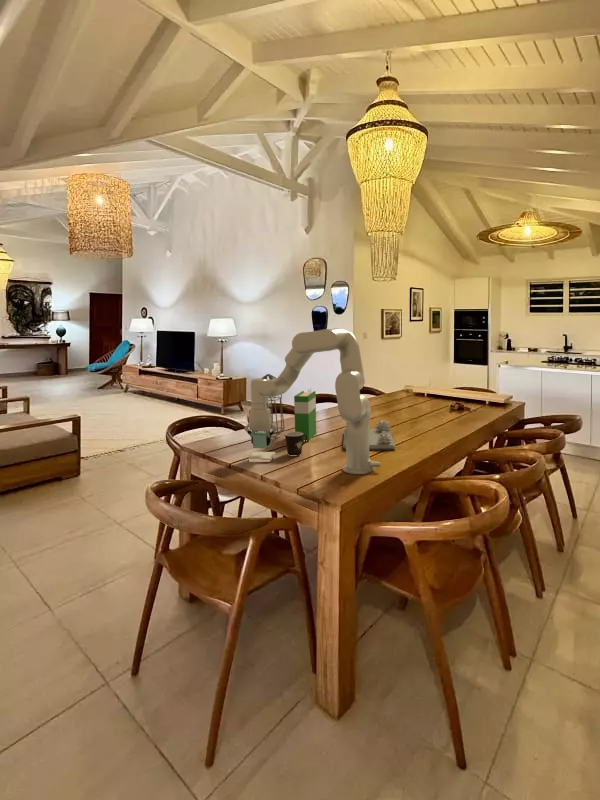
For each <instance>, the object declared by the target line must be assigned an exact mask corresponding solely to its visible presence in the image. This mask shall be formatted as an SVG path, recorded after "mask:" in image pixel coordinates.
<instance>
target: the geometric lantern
mask: <svg viewBox="0 0 600 800" xmlns="http://www.w3.org/2000/svg"><path fill="white" fill-rule="evenodd" d="M261 378H262V379H266V380H271V379H275V378H277V377H276V376H273V375H272V374H270V373H267V374H265V375H264V376H262V377H261ZM282 398H283V394H280V395H278V396H275V397H268V402H270V404H271V408H270V410H271V415H272V423H273V424H274V416H273V415H274V413H273V403H274V412H275V423H276V425H275V426H276V427H277V431H276V432H274V433H273V434H272V435H271V438H274V439H277V437H276V436H278V435H280V434H281V433H283V432H284V431H285V421H284V412H283V403H282ZM276 401H279V406H280V407H279V410H280V426H281V427H279V426H278V416H277V415H278V414H277V405H276ZM279 429H280V430H279ZM271 430H272V431H273V428H272V429H271ZM256 432H259V431H256ZM256 432H255V433H256ZM263 432H265V431H263Z"/></svg>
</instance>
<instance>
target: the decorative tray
mask: <svg viewBox="0 0 600 800" xmlns="http://www.w3.org/2000/svg"><path fill="white" fill-rule="evenodd" d="M390 423H391V422H390V421H387V419H385V420H384V419H382V420H381V419H379V420H377V423H375V426H374V428H369V451H377V450H378V451H393V450H395V449H396V444H395V441H394V437H393V436H392V430H391V429H392V428H393V427H392V426H391V425H390ZM342 448H343V449H345V450H346V428H345V430H344V431H343V443H342Z"/></svg>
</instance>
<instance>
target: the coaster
mask: <svg viewBox="0 0 600 800" xmlns="http://www.w3.org/2000/svg"><path fill="white" fill-rule="evenodd" d="M274 455H275V456H276V452H275V451H253V452H252V453H251V454H250V455H249V456H248V459H261V460H271V458H272V457H273V456H274Z"/></svg>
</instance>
